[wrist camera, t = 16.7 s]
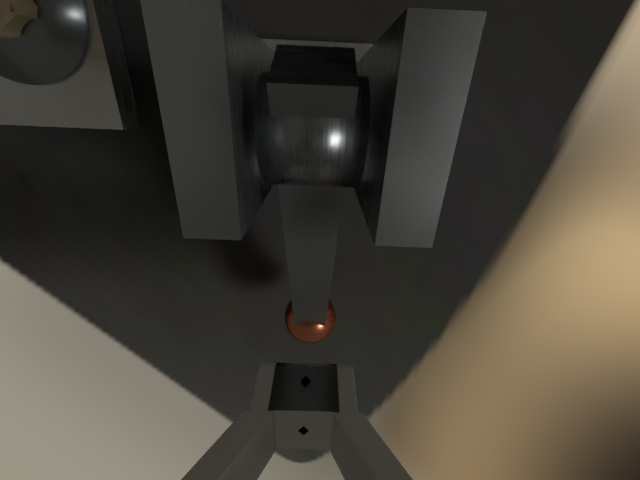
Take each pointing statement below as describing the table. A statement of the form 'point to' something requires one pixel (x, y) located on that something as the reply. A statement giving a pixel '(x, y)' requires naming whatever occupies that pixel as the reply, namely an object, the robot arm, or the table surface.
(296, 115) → the lever
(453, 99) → the frame
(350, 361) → the table surface
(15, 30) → the handle
